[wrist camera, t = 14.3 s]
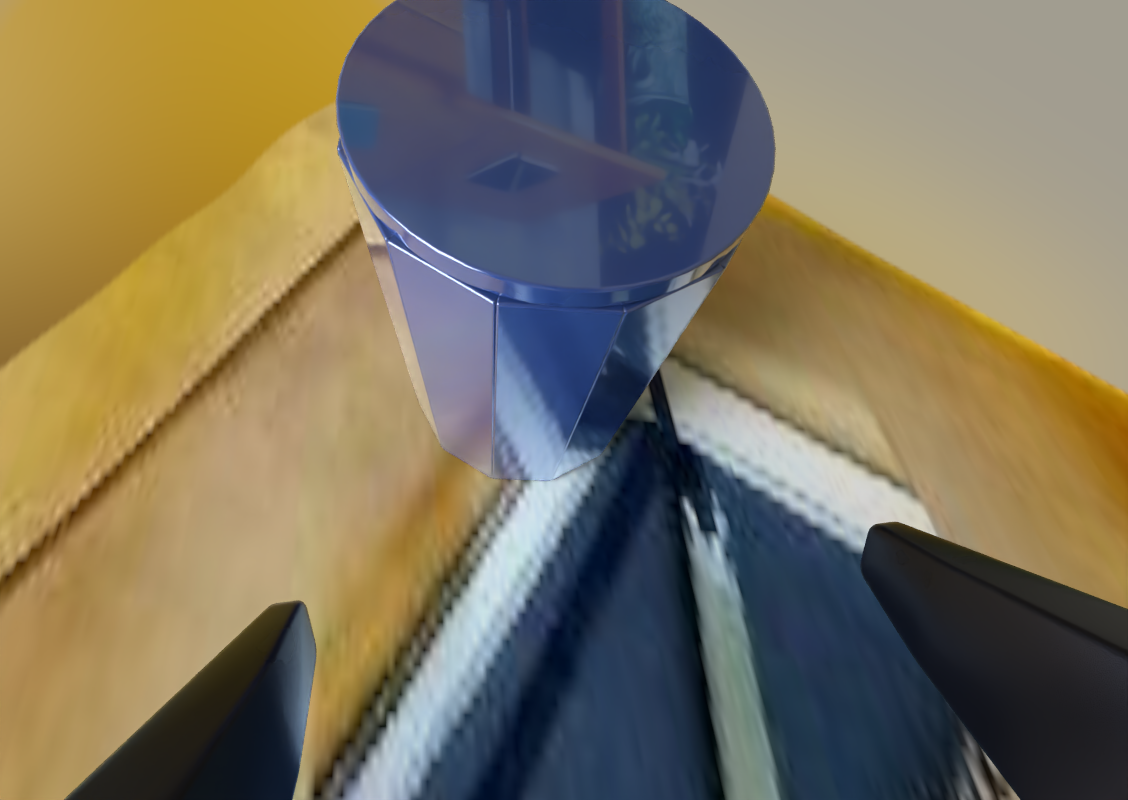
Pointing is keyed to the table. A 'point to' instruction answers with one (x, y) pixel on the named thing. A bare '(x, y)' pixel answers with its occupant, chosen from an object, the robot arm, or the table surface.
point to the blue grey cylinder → (546, 207)
